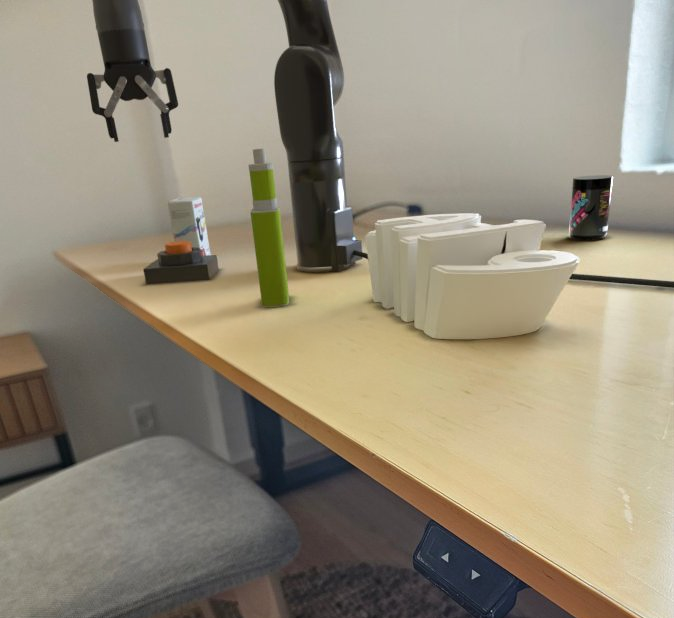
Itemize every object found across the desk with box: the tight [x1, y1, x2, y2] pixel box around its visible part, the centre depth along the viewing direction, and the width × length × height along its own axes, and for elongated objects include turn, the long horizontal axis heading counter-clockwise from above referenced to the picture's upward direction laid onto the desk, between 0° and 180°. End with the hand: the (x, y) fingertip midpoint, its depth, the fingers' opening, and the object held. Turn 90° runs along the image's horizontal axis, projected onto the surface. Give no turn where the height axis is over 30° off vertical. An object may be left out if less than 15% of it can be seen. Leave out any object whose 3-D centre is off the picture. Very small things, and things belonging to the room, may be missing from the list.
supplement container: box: [568, 174, 614, 242], centre depth 119 cm, size 7×7×10 cm
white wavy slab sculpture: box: [364, 212, 581, 340], centre depth 81 cm, size 35×16×11 cm, turn 14°
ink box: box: [167, 196, 212, 256], centre depth 126 cm, size 9×5×12 cm, turn 179°
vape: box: [248, 148, 290, 308], centre depth 90 cm, size 4×6×20 cm, turn 2°
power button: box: [164, 241, 192, 254], centre depth 114 cm, size 4×4×2 cm
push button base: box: [143, 247, 220, 285], centre depth 115 cm, size 11×9×4 cm
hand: (142, 139), depth 114 cm, fingers open, 8 cm apart
